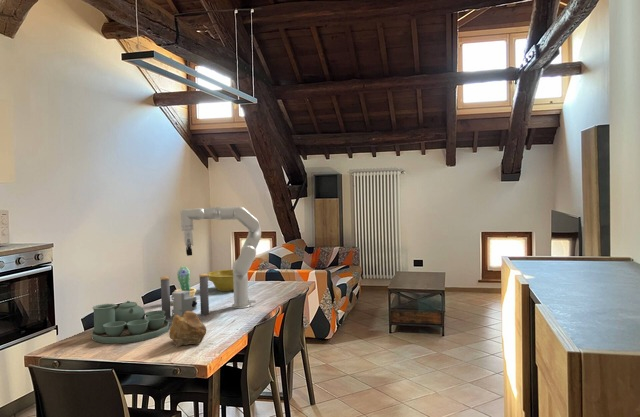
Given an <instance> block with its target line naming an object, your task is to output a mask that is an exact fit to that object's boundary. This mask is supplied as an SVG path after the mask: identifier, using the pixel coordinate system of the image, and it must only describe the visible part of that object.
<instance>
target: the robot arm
mask: <svg viewBox="0 0 640 417" xmlns="http://www.w3.org/2000/svg"><path fill="white" fill-rule="evenodd" d="M194 220H196V221H200V220H219V221H222V220H225V221H228V220H237V221H238V222H240V223H241V224H242V225H243V226H244V227H245V228H246V229H247V230H248V233H247V237H246V239H245V241H244V243H243V245H242V247H241V249H240V255H239V256H238V257H237V259H236V260H234V262H233V263H232V270H233V281H234V290H233V304H232V305H231V308H233V309H245V308H250V307H251V306H252V304H255V303H256V299H250V298H249V276H248V275H249V273H248V272H249V270H250V269H251V266H252V264H253V262H254V260H255V258H256V256H257V247H258V245H259V243H260V240H261V238H262V229H261V224H260V222H259V220H258V219H257V218H256V217H255V216H254V215H252V214H251V213H250V212H249V211H248V210H247V209H246V208H245V207H243V206H217V207H196V208H188V209H187V208H186V209H185V208H184V209H181V210H180V225H181V232H183V240H184V245H185V247H186V249H185V252H186V256H187V257H189V256H193V249H192V247H193V246H194V238H193V231H194V230H195V229H194Z"/></svg>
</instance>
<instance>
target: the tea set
mask: <svg viewBox="0 0 640 417" xmlns="http://www.w3.org/2000/svg"><path fill="white" fill-rule="evenodd" d="M91 309H93V329H92V330H91V339H92V340H93V341H94V342H98V343H102V344H127V343H134V342H135V343H136V342H141V341H142V342H143V341H145V340H149V339H153V338H158V337H159V336H161V335H164V334H165V333H167V332H168V330H170V326H171V325H170V324H171V323H170V321H169V320H168V319H165V317H166V316H164V314H165V311H162V310H158V309H157V310H150V311H147V312H145V310H144V308H143V307H142V306H141V305H138V303H137V302H135V301H130V300H126V301H125V302H122V303H120V304H119V305H118V304H115V303H102V304H97V305H94V306H92V307H91Z"/></svg>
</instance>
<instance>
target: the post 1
mask: <svg viewBox="0 0 640 417" xmlns="http://www.w3.org/2000/svg"><path fill="white" fill-rule="evenodd" d="M170 287H171V286H170V276H161V277H160V295H161V296H160V297H161V298H160V299H161V300H160V301H161V311H165V314H164V316H166V317H165V320H169V319H171V315H172V312H171V289H170Z"/></svg>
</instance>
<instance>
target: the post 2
mask: <svg viewBox="0 0 640 417" xmlns="http://www.w3.org/2000/svg"><path fill="white" fill-rule="evenodd" d="M198 276H199V300H200V301H199V302H200V316H208V315H210V305H209V304H210V302H209V278H208V274H207V273H201V274H199V275H198Z"/></svg>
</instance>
